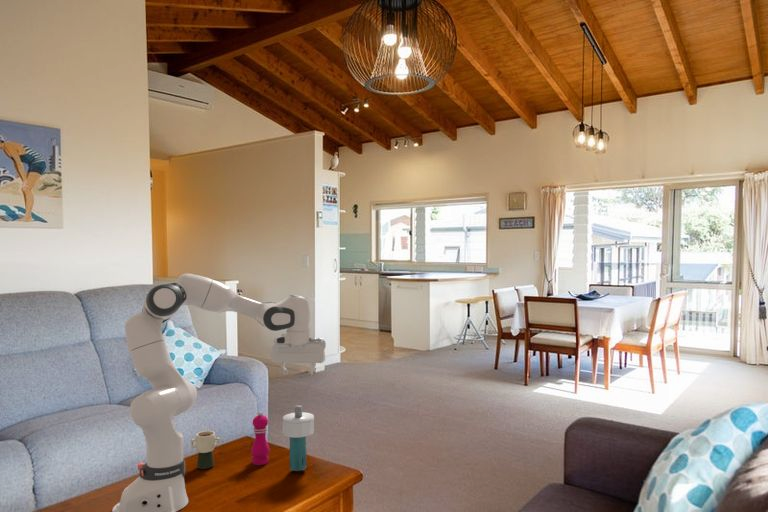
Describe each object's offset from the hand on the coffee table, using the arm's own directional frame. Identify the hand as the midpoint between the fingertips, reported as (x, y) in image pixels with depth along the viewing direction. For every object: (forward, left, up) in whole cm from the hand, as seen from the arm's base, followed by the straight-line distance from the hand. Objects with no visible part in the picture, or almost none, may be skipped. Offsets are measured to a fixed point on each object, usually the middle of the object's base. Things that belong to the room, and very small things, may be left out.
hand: (298, 374), depth 196 cm
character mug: (-30, +21, -37) cm, 52 cm away
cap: (0, -1, -22) cm, 22 cm away
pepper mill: (-10, +16, -37) cm, 41 cm away
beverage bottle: (0, 0, -37) cm, 37 cm away
